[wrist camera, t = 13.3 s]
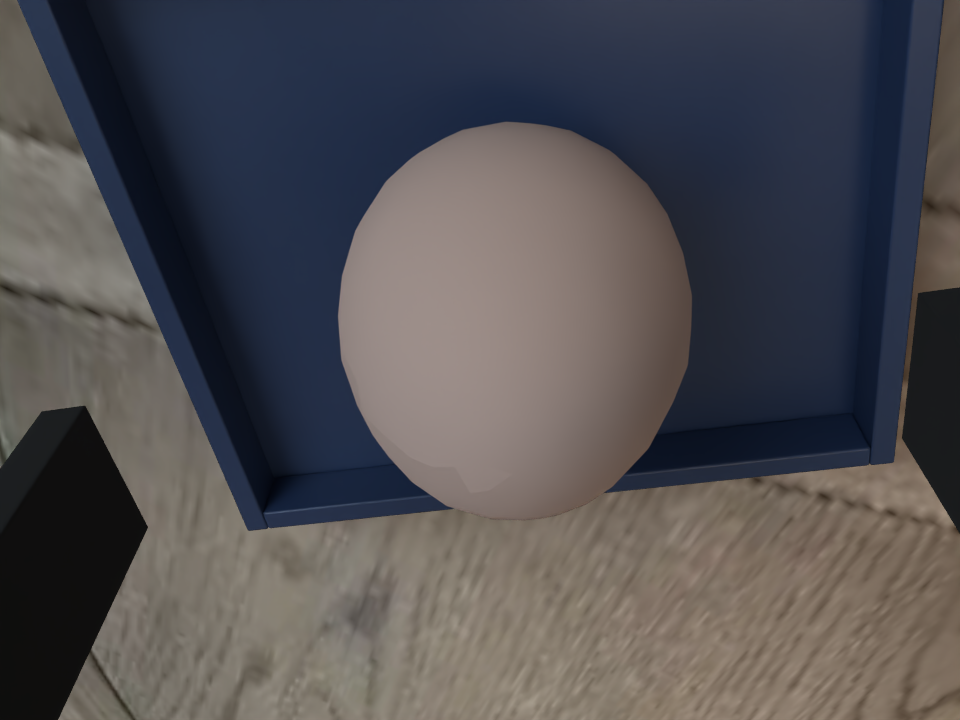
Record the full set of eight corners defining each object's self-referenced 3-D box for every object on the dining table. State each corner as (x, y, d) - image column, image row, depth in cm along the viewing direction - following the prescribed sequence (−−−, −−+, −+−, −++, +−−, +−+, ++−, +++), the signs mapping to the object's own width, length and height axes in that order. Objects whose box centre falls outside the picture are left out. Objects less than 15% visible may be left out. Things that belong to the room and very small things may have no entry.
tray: (265, 481, 26) (247, 531, 25) (39, -79, 18) (-12, -62, 16) (867, 413, 24) (894, 463, 22) (923, -255, 16) (973, -257, 14)
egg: (623, 349, 23) (677, 643, 15) (363, 316, 22) (286, 599, 15) (690, 92, 19) (807, 309, 11) (381, 48, 19) (289, 242, 11)
